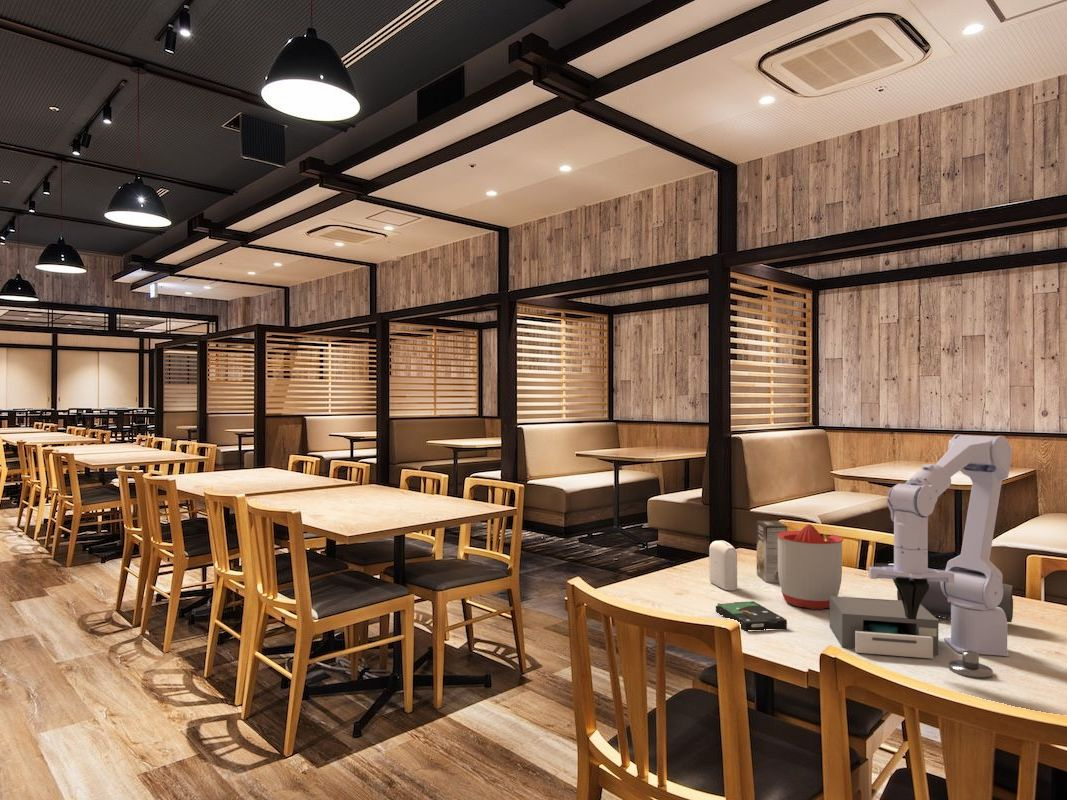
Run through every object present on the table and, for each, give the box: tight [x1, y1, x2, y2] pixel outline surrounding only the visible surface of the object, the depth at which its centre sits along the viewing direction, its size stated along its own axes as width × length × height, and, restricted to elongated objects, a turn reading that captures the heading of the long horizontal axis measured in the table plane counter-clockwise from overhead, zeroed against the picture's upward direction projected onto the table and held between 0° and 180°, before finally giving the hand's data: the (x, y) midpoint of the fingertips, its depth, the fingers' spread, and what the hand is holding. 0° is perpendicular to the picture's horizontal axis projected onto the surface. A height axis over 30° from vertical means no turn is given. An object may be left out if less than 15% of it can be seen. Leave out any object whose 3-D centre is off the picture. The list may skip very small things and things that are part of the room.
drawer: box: [854, 625, 934, 659], centre depth 146 cm, size 14×16×4 cm
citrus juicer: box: [777, 523, 844, 611], centre depth 176 cm, size 16×17×20 cm
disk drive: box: [715, 601, 788, 632], centre depth 161 cm, size 10×3×15 cm
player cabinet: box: [829, 596, 940, 656], centre depth 148 cm, size 18×14×7 cm
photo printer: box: [708, 540, 738, 591], centre depth 191 cm, size 10×4×12 cm, turn 13°
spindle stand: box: [948, 650, 994, 680], centre depth 131 cm, size 7×7×4 cm
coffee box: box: [756, 520, 788, 583], centre depth 200 cm, size 9×6×16 cm
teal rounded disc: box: [869, 621, 898, 634], centre depth 146 cm, size 6×6×2 cm
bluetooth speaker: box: [896, 581, 1014, 623], centre depth 164 cm, size 23×9×10 cm, turn 53°
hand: (910, 617), depth 133 cm, fingers closed
